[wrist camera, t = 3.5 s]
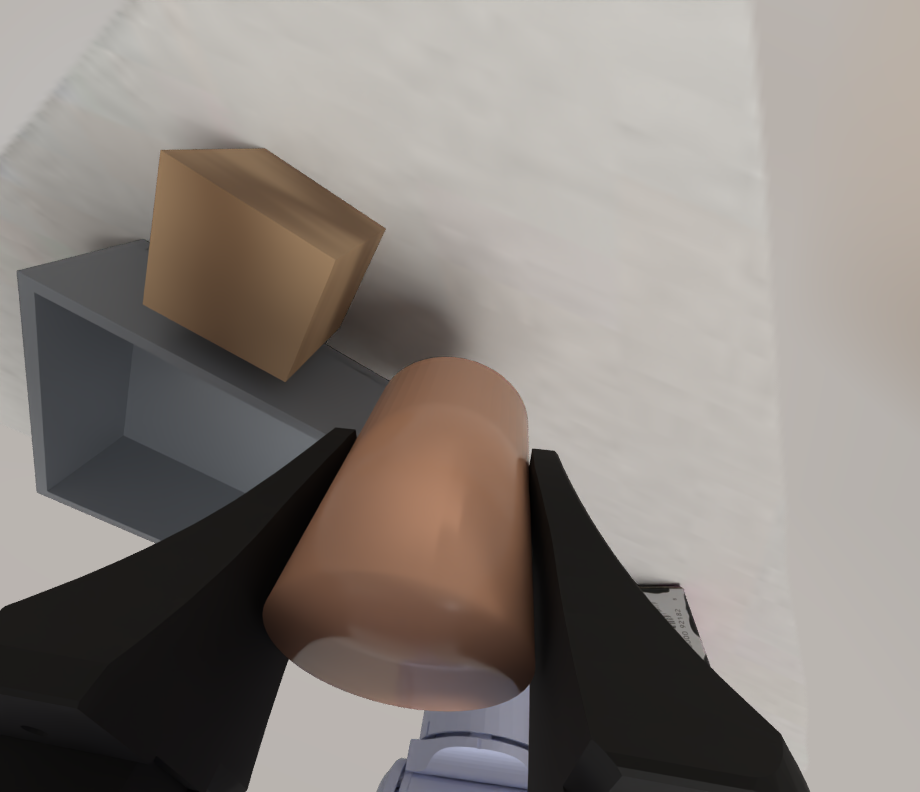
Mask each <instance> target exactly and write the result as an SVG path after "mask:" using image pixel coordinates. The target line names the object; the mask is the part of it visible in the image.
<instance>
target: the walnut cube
mask: <svg viewBox="0 0 920 792" xmlns="http://www.w3.org/2000/svg"><path fill="white" fill-rule="evenodd" d="M385 230H386V228H384V227H383V226H381V225H380V224H378V223H377V222H375V221H373V220H372V219H370V218H369V217H367V216H366V215H364V214H363V213H361V212H360V211H358V210H357V209H355V208H354V207H352V206H351V205H349V204H348V203H346V202H345V201H343V200H342V199H340V198H339V197H337V196H336V195H334V194H333V193H331V192H330V191H328V190H327V189H325V188H324V187H322V186H321V185H319V184H318V183H316V182H315V181H313V180H312V179H310V178H309V177H307V176H306V175H304V174H303V173H301V172H300V171H298V170H297V169H295V168H294V167H292V166H291V165H289V164H288V163H286V162H285V161H283V160H282V159H280V158H279V157H277V156H276V155H274V154H273V153H271V152H270V151H268V150H267V149H265V148H262V149H192V150H161V151H160V159H159V168H158V177H157V185H156V194H155V202H154V211H153V220H152V228H151V237H150V245H149V254H148V263H147V271H146V280H145V289H144V297H143V305H145V306H146V307H148V308H150V309H152V310H154V311H156V312H157V313H159V314H161V315H163V316H165V317H167V318H168V319H170V320H172V321H174V322H176V323H178V324H179V325H181V326H183V327H185V328H187V329H189V330H190V331H192V332H194V333H196V334H198V335H200V336H201V337H203V338H205V339H207V340H209V341H211V342H212V343H214V344H216V345H218V346H220V347H222V348H223V349H225V350H227V351H229V352H231V353H233V354H234V355H236V356H238V357H240V358H242V359H244V360H245V361H247V362H249V363H251V364H253V365H255V366H256V367H258V368H260V369H262V370H264V371H266V372H267V373H269V374H271V375H273V376H275V377H277V378H278V379H280V380H282V381H284V382H286V381H287V380H288V379H289V378H290V377H291V376H292V375H293V374H294V373H295V372H296V371H297V370H298V369H299V368H300V367H301V366H302V365H303V364H304V363H305V362H306V361H307V360H308V359H309V358H310V357H311V356H312V355H313V354H314V353H315V352H316V351H317V350H318V349H319V348H320V347H321V346H322V345H323V344H324V343H325V342H326V341H327V340H328V339H329V338H330V337H331V336H332V335H333V334H334V333H335V332H336V331H337V330H338V329H339V328H340V326H341V324H342V321H343V319H344V317H345V315H346V313H347V311H348V309H349V306H350V304H351V302H352V300H353V298H354V296H355V294H356V292H357V289H358V287H359V285H360V283H361V281H362V279H363V277H364V274H365V272H366V270H367V268H368V266H369V264H370V262H371V259H372V257H373V255H374V253H375V251H376V249H377V247H378V244H379V242H380V240H381V238H382V236H383V234H384V232H385Z"/></svg>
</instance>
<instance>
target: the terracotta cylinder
mask: <svg viewBox="0 0 920 792" xmlns="http://www.w3.org/2000/svg"><path fill="white" fill-rule="evenodd" d="M262 616H263V623H264V626H265V629H266V632H267V634H268V635H269V637H270V639H271V640H272V642H273V643H274V644H275V645H276V647H277V648H278V649H279V650H280V651H281V652H282V653H283V654H284V655H285V656H286V657H287V658H288V659H290V660H291V661H292V662H293V663H295V664H296V665H297V666H299V667H300V668H302V669H303V670H304V671H306V672H308V673H309V674H311V675H313V676H314V677H316V678H318V679H320V680H322V681H324V682H326V683H328V684H330V685H332V686H334V687H337V688H339V689H341V690H343V691H346V692H349V693H351V694H354V695H357V696H360V697H363V698H366V699H369V700H373V701H377V702H381V703H384V704H388V705H393V706H398V707H403V708H410V709H417V710H427V711H445V712H449V711H469V710H477V709H483V708H488V707H492V706H495V705H499V704H501V703H504V702H506V701H509V700H511V699H512V698H514V697H516V696H518V695H519V694H520V693H522V692H523V691H524V690H525V689H526V688H527V687H528V685H529V684H530V683H531V681H532V679H533V676H534V672H535V639H534V605H533V571H532V537H531V504H530V471H529V436H528V417H527V412H526V408H525V405H524V403H523V401H522V399H521V397H520V395H519V394H518V392H517V391H516V389H515V388H514V387H513V386H512V385H511V383H509V382H508V381H507V380H506V379H505V378H504V377H503V376H501V375H500V374H499V373H497V372H496V371H494V370H493V369H491V368H489V367H487V366H485V365H483V364H480V363H478V362H475V361H471V360H467V359H463V358H456V357H436V358H429V359H425V360H421V361H418V362H415V363H413V364H411V365H409V366H407V367H405V368H404V369H402V370H401V371H400V372H398V373H397V374H396V375H395V376H394V377H393V378H392V379H391V380H390V382H389V383H388V384H387V386H386V387H385V389H384V391H383V393H382V394H381V396H380V398H379V400H378V402H377V403H376V405H375V407H374V409H373V411H372V412H371V414H370V416H369V418H368V419H367V421H366V423H365V425H364V427H363V428H362V430H361V432H360V434H359V436H358V437H357V439H356V441H355V443H354V444H353V446H352V448H351V450H350V452H349V453H348V455H347V457H346V459H345V461H344V462H343V464H342V466H341V468H340V469H339V471H338V473H337V475H336V477H335V478H334V480H333V482H332V484H331V486H330V487H329V489H328V491H327V493H326V495H325V496H324V498H323V500H322V502H321V503H320V505H319V507H318V509H317V511H316V512H315V514H314V516H313V518H312V520H311V521H310V523H309V525H308V527H307V528H306V530H305V532H304V534H303V536H302V537H301V539H300V541H299V543H298V545H297V546H296V548H295V550H294V552H293V554H292V555H291V557H290V559H289V561H288V562H287V564H286V566H285V568H284V570H283V571H282V573H281V575H280V577H279V579H278V580H277V582H276V584H275V586H274V587H273V589H272V591H271V593H270V595H269V596H268V598H267V600H266V602H265V605H264V608H263V614H262Z"/></svg>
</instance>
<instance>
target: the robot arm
mask: <svg viewBox="0 0 920 792" xmlns="http://www.w3.org/2000/svg"><path fill="white" fill-rule="evenodd" d="M356 439H357V435H356V430H355V429H346V428H337V427H335V428H334V429H333V430H331V431H330V432H329V433H327V434H326V435H325V436H323V437H322V438H321V439H319V440H318V441H317V442H316V443H314V444H313V445H312V446H310V447H309V448H308V449H306V450H305V451H304V452H303V453H301V454H300V455H299V456H297V457H296V458H295V459H293V460H292V461H290V462H289V463H288V464H286V465H285V466H284V467H282V468H281V469H280V470H278V471H277V472H276V473H274V474H273V475H271V476H270V477H268V478H267V479H265V480H264V481H262V482H261V483H260V484H258V485H257V486H255V487H254V488H252V489H251V490H249V491H248V492H246V493H245V494H243V495H242V496H240V497H239V498H237V499H236V500H234V501H232V502H231V503H229V504H227V505H226V506H224V507H223V508H221V509H219V510H217V511H216V512H214V513H212V514H211V515H209V516H207V517H205V518H204V519H202V520H200V521H198V522H196V523H195V524H193V525H191V526H189V527H187V528H185V529H183V530H181V531H179V532H177V533H175V534H173V535H171V536H169V537H167V538H165V539H164V540H162V541H160V542H158V543H156V544H154V545H152V546H150V547H148V548H146V549H144V550H141V551H139V552H137V553H135V554H133V555H131V556H128V557H126V558H124V559H122V560H120V561H117V562H115V563H113V564H111V565H108V566H106V567H104V568H101V569H99V570H97V571H94V572H92V573H90V574H87V575H85V576H83V577H80V578H78V579H75V580H73V581H70V582H67V583H65V584H62V585H60V586H57V587H54V588H52V589H49V590H47V591H44V592H41V593H39V594H36V595H34V596H31V597H29V598H26V599H23V600H21V601H18V602H16V603H12V604H10V605H7V606H5V607H4V608H2V609H1V610H0V792H246V791H247V789H248V785H249V782H250V778H251V774H252V771H253V768H254V765H255V761H256V758H257V755H258V751H259V748H260V745H261V742H262V738H263V735H264V732H265V728H266V725H267V722H268V719H269V716H270V713H271V710H272V707H273V703H274V701H275V698H276V695H277V692H278V689H279V686H280V683H281V679H282V676H283V673H284V671H285V668H286V665H287V662H288V660H289V659H288V658H287V657H286V656H285V655H284V654H283V653H282V652H281V651H280V650H279V649H278V648H277V647H276V645H275V644H274V643H273V642H272V640H271V639H270V637H269V635H268V634H267V632H266V629H265V626H264V623H263V616H262V614H263V608H264V605H265V602H266V600H267V598H268V596H269V595H270V593H271V591H272V589H273V587H274V586H275V584H276V582H277V580H278V579H279V577H280V575H281V573H282V571H283V570H284V568H285V566H286V564H287V562H288V561H289V559H290V557H291V555H292V554H293V552H294V550H295V548H296V546H297V545H298V543H299V541H300V539H301V537H302V536H303V534H304V532H305V530H306V528H307V527H308V525H309V523H310V521H311V520H312V518H313V516H314V514H315V512H316V511H317V509H318V507H319V505H320V503H321V502H322V500H323V498H324V496H325V495H326V493H327V491H328V489H329V487H330V486H331V484H332V482H333V480H334V478H335V477H336V475H337V473H338V471H339V469H340V468H341V466H342V464H343V462H344V461H345V459H346V457H347V455H348V453H349V452H350V450H351V448H352V446H353V444H354V443H355V441H356ZM529 471H530V504H531V537H532V571H533V605H534V639H535V672H534V676H533V679H532V681H531V683H530V684H529V685H528V687H527V688H526V689H525V690H524V691H523V692H522V693H520V694H519V695H518V696H516V697H514V698H512V699H511V700H509V701H506V702H504V703H501V704H499V705H495V706H492V707H488V708H483V709H477V710H469V711H449V712H445V711H427V710H424V716H423V722H422V728H421V734H420V740H419V739H411V741H410V746H409V752H408V757H407V759H404V758H400V759H398V760H397V761H396V762H395V763H394V764H393V766H392V767H391V769H390V770H389V771H388V772H387V773H386V775H385V776H384V777H383V779H382V781H381V783H380V785H379V787H378V789H377V792H810V790H809V788H808V786H807V783H806V781H805V779H804V777H803V775H802V773H801V771H800V769H799V767H798V765H797V763H796V761H795V760H794V758H793V756H792V754H791V752H790V751H789V749H788V747H787V745H786V743H785V741H784V739H783V737H782V735H781V734H780V733H779V732H778V731H777V730H776V729H775V728H774V727H773V726H772V725H771V724H770V723H769V722H768V721H766V720H765V719H764V718H763V717H762V716H761V715H760V714H759V713H758V712H757V711H756V710H755V709H754V708H753V707H752V706H750V705H749V704H748V703H747V702H746V701H745V700H744V699H743V698H742V697H741V696H740V695H739V694H738V693H737V692H736V691H735V690H733V689H732V688H731V687H730V686H729V685H728V684H727V683H726V682H725V681H724V680H723V679H722V678H721V677H720V676H719V675H718V674H717V673H716V672H715V671H714V670H713V669H712V668H711V667H710V666H709V665H708V664H707V663H706V662H705V661H704V660H703V659H702V658H701V657H700V656H699V655H698V654H697V653H696V652H695V650H694V649H693V648H692V647H691V646H690V645H689V644H688V643H687V642H686V641H685V640H684V638H683V637H682V636H681V635H680V634H679V633H678V632H677V631H676V630H675V628H674V627H673V626H672V625H671V624H670V623H669V622H668V621H667V619H666V618H665V617H664V616H663V615H662V614H661V613H660V612H659V611H658V609H657V608H656V607H655V606H654V605H653V604H652V602H651V601H650V600H649V599H648V598H647V596H646V595H645V594H644V593H643V591H642V590H641V589H640V588H639V586H638V585H637V584H636V583H635V581H634V580H633V579H632V578H631V576H630V575H629V574H628V572H627V571H626V570H625V568H624V567H623V566H622V564H621V563H620V562H619V560H618V559H617V557H616V556H615V555H614V553H613V552H612V550H611V549H610V547H609V546H608V545H607V543H606V542H605V540H604V538H603V537H602V535H601V534H600V532H599V531H598V529H597V528H596V526H595V525H594V523H593V521H592V520H591V518H590V516H589V515H588V513H587V511H586V509H585V508H584V506H583V504H582V503H581V501H580V499H579V497H578V496H577V494H576V492H575V490H574V488H573V486H572V484H571V482H570V480H569V478H568V476H567V474H566V472H565V470H564V468H563V466H562V463H561V461H560V459H559V456H558V454H557V453H556V452H555V451H551V450H541V449H532V453H531V459H530V465H529Z"/></svg>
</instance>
